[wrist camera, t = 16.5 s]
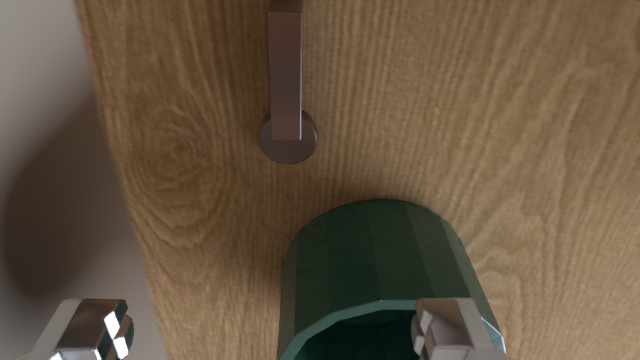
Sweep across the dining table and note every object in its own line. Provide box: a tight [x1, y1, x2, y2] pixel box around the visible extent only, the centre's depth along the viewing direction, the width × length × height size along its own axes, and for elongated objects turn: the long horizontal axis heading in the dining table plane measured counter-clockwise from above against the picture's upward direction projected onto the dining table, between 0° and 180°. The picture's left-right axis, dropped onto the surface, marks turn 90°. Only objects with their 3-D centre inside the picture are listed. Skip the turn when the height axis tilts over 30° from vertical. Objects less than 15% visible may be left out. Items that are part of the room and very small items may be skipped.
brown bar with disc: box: [259, 0, 317, 164], centre depth 22 cm, size 9×3×3 cm, turn 178°
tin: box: [277, 200, 506, 360], centre depth 29 cm, size 14×14×8 cm
